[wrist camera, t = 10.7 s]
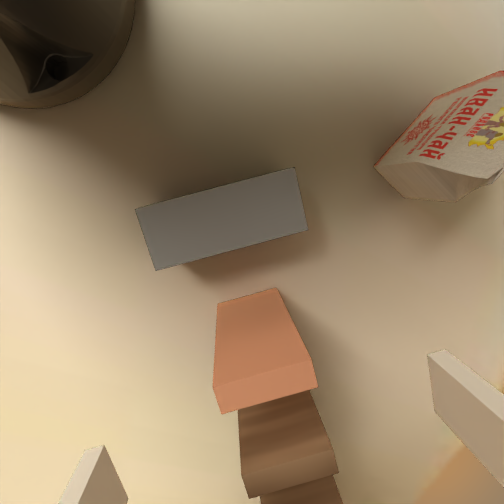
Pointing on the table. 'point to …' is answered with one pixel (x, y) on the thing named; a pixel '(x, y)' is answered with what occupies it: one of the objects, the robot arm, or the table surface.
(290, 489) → the walnut tile
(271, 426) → the walnut tile
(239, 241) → the block
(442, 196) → the beige boxy piece
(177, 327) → the table surface
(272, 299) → the terracotta tile
